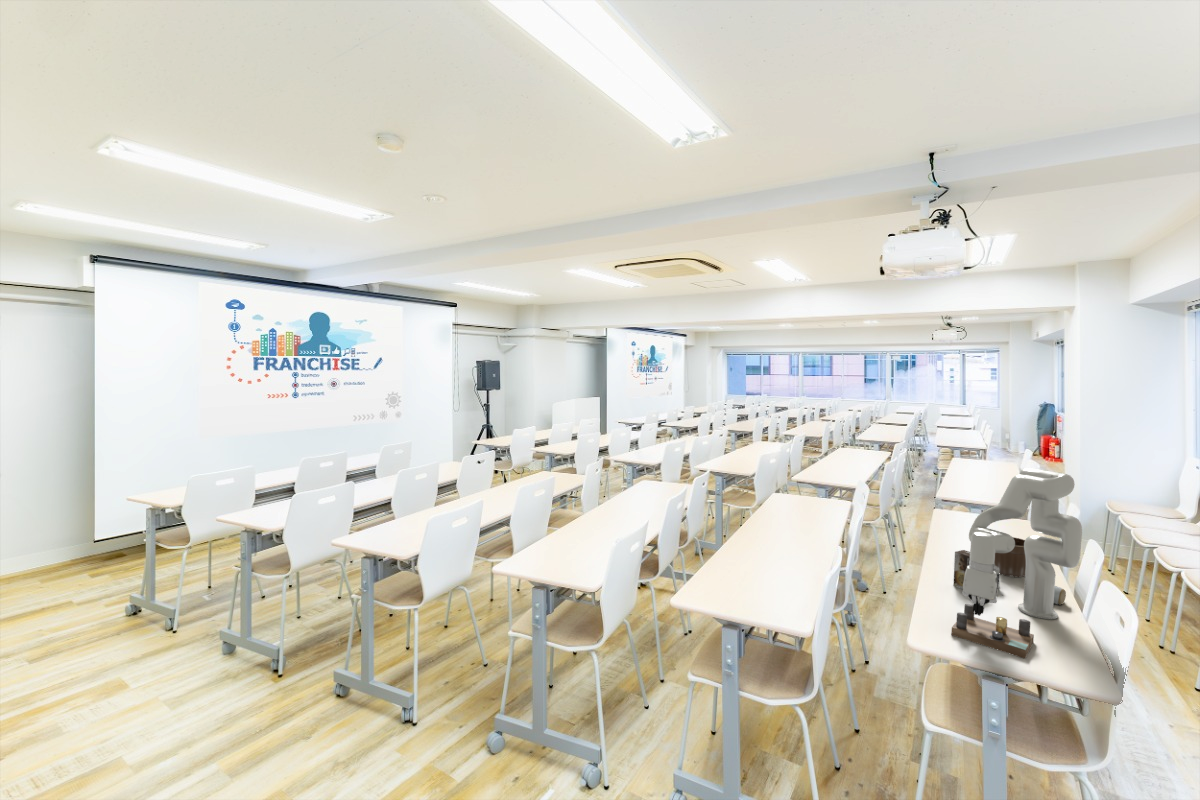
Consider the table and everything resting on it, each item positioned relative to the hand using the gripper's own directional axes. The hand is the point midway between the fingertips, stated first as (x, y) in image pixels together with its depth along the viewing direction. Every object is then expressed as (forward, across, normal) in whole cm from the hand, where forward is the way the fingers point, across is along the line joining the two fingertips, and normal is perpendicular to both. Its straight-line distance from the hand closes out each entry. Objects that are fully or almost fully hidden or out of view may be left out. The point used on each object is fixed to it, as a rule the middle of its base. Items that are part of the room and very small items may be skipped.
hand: (977, 613), depth 203 cm
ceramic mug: (+7, -15, -59) cm, 61 cm away
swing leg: (+4, -7, +2) cm, 9 cm away
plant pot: (+6, +4, -84) cm, 85 cm away
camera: (+7, +9, -61) cm, 62 cm away
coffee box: (+7, +13, -47) cm, 50 cm away
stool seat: (+8, -5, 0) cm, 9 cm away
